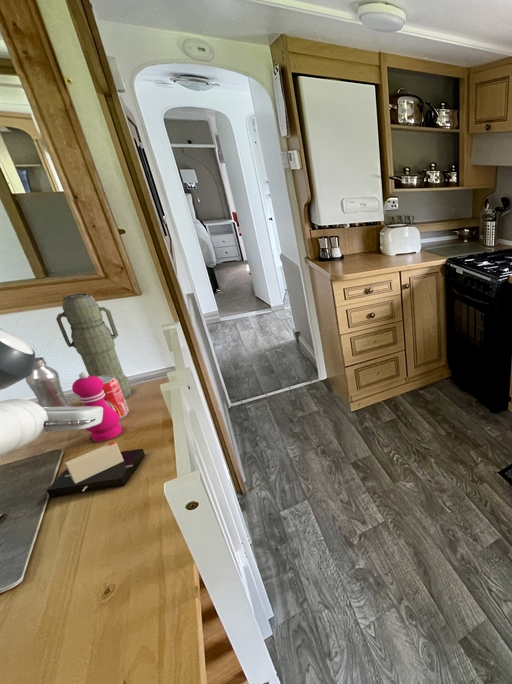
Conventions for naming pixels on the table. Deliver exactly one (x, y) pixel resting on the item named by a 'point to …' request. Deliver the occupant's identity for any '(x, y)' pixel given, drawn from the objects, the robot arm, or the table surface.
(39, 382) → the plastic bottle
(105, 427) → the pepper mill
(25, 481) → the table surface
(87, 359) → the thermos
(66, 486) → the panel
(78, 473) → the cream block red end
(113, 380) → the soda can
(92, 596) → the table surface
